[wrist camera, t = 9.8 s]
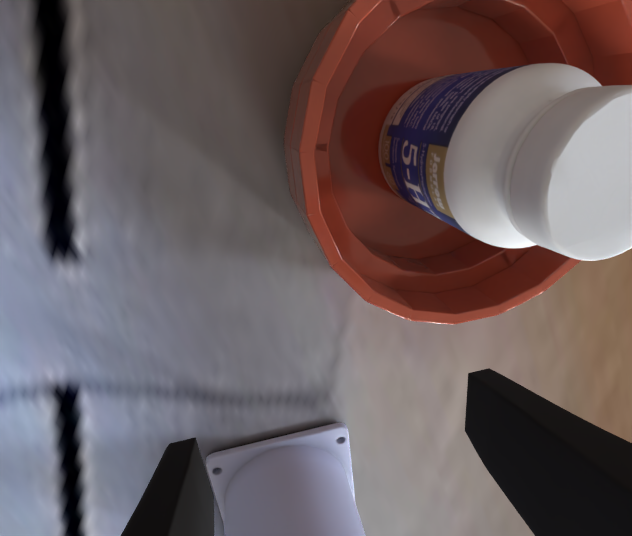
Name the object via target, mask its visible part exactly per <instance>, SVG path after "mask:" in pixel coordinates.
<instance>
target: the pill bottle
mask: <svg viewBox="0 0 632 536" xmlns="http://www.w3.org/2000/svg"><path fill="white" fill-rule="evenodd" d="M378 153H379V163H380V167H381V170H382V173H383V175H384V178H385V180H386V182H387V183H388V185H389V186H390V188H391V189H392V190H393V191H394V192H395V193H396V194H397V195H398V196H399V197H400V198H402V199H403V200H405V201H407V202H409V203H410V204H412V205H414V206H416V207H418V208H420V209H422V210H423V211H425V212H427V213H429V214H431V215H433V216H435V217H437V218H438V219H440V220H442V221H444V222H446V223H448V224H450V225H451V226H453V227H455V228H457V229H459V230H461V231H462V232H464V233H466V234H468V235H470V236H472V237H474V238H476V239H478V240H480V241H482V242H484V243H487V244H490V245H493V246H497V247H503V248H525V247H531V246H534V245H539V246H541V247H544V248H547V249H550V250H552V251H555V252H557V253H560V254H562V255H565V256H568V257H570V258H574V259H578V260H586V261H593V260H596V261H597V260H602V259H607V258H610V257H614V256H616V255H619V254H621V253H623V252H625V251H627V250H629V249H630V248H632V85H612V86H602V85H601V84H600V83H599V82H598V81H597V80H596V79H595V78H594V77H592V76H591V75H590V74H588V73H586V72H585V71H583V70H581V69H579V68H577V67H573V66H570V65H566V64H560V63H540V64H529V65H522V66H514V67H507V68H499V69H491V70H484V71H476V72H469V73H462V74H454V75H447V76H441V77H436V78H432V79H428V80H425V81H423V82H421V83H419V84H417V85H415V86H414V87H412V88H411V89H409V90H408V91H407V92H405V93H404V94H403V95H402V96H401V97H400V98H399V99H398V100H397V101H396V103H395V104H394V105H393V107H392V108H391V110H390V111H389V113H388V115H387V117H386V119H385V121H384V124H383V127H382V130H381V133H380V138H379V147H378Z"/></svg>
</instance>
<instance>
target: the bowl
mask: <svg viewBox="0 0 632 536" xmlns="http://www.w3.org/2000/svg"><path fill="white" fill-rule="evenodd" d="M540 63H560V64H566V65H570V66H573V67H577V68H579V69H581V70H583V71H585V72H586V73H588V74H590V75H591V76H592V77H594V78H595V79H596V80H597V81H598V82H599V83H600V84H601V85H602V86H612V85H632V0H350V2H349V3H348V4H347V5H346V6H345V7H344V8H343V9H342V10H341V11H340V12H339V13H338V14H337V15H336V16H335V17H334V18H333V19H332V20H331V21H330V22H329V23H328V24H327V25H326V26H325V27H324V28H323V29H322V30H321V31H320V33H319V34H318V36H317V38H316V40H315V42H314V44H313V46H312V48H311V50H310V52H309V54H308V56H307V58H306V60H305V62H304V64H303V66H302V68H301V70H300V72H299V74H298V76H297V78H296V80H295V82H294V84H293V87H292V92H291V98H290V104H289V110H288V116H287V122H286V128H285V134H284V140H283V141H284V143H283V144H284V152H285V159H286V167H287V174H288V182H289V189H290V193H291V196H292V198H293V200H294V202H295V204H296V207H297V209H298V211H299V213H300V215H301V217H302V219H303V221H304V223H305V225H306V227H307V229H308V231H309V234H310V235H311V237H312V238H313V240H314V241H315V243H316V244H317V246H318V248H319V249H320V251H321V252H322V254H323V255H324V257H325V259H326V260H327V262H328V263H329V265H330V266H331V268H332V269H333V270H334V271H335V272H336V273H337V274H338V275H339V276H340V277H341V278H343V279H344V280H345V281H346V282H347V283H348V284H349V285H350V286H351V287H352V288H353V289H354V290H355V291H356V292H357V293H358V294H359V295H360V296H361V297H362V298H363V299H364V300H365V301H367V302H368V303H370V304H373V305H375V306H377V307H379V308H382V309H384V310H386V311H388V312H390V313H393V314H395V315H397V316H399V317H402V318H404V319H406V320H409V321H419V322H430V323H442V324H458V323H463V322H468V321H472V320H477V319H482V318H486V317H491V316H496V315H499V314H502V313H504V312H506V311H508V310H510V309H512V308H514V307H516V306H518V305H520V304H522V303H523V302H525V301H527V300H529V299H531V298H533V297H535V296H537V295H539V294H541V293H543V292H544V291H546V290H547V289H548V288H549V287H550V286H552V285H553V284H554V283H555V282H556V281H557V280H559V279H560V278H561V277H562V276H563V275H565V274H566V273H567V272H568V271H569V270H570V269H572V268H573V267H574V266H575V265H576V264H578V263H579V262H580V261H581V260H578V259H574V258H570V257H568V256H565V255H562V254H560V253H557V252H555V251H552V250H550V249H547V248H544V247H541V246H539V245H534V246H531V247H525V248H503V247H497V246H493V245H490V244H487V243H484V242H482V241H480V240H478V239H476V238H474V237H472V236H470V235H468V234H466V233H464V232H462V231H461V230H459V229H457V228H455V227H453V226H451V225H450V224H448V223H446V222H444V221H442V220H440V219H438V218H437V217H435V216H433V215H431V214H429V213H427V212H425V211H423V210H422V209H420V208H418V207H416V206H414V205H412V204H410V203H409V202H407V201H405V200H403V199H402V198H400V197H399V196H398V195H397V194H396V193H395V192H394V191H393V190H392V189H391V188H390V186H389V185H388V183H387V182H386V180H385V178H384V175H383V173H382V170H381V167H380V163H379V153H378V147H379V138H380V133H381V130H382V127H383V124H384V121H385V119H386V117H387V115H388V113H389V111H390V110H391V108H392V107H393V105H394V104H395V103H396V101H397V100H398V99H399V98H400V97H401V96H402V95H403V94H404V93H405V92H407V91H408V90H409V89H411V88H412V87H414V86H415V85H417V84H419V83H421V82H423V81H425V80H428V79H432V78H436V77H441V76H447V75H454V74H462V73H469V72H476V71H484V70H491V69H499V68H507V67H514V66H522V65H529V64H540Z"/></svg>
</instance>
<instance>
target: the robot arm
mask: <svg viewBox="0 0 632 536" xmlns="http://www.w3.org/2000/svg"><path fill="white" fill-rule="evenodd" d="M465 431H466V433H467V435H468V437H469V439H470V441H471V442H472V444H473V446H474V448H475V450H476V452H477V453H478V455H479V457H480V458H481V460H482V462H483V464H484V465H485V467H486V468H487V470H488V471H489V473H490V474H491V475H492V477H493V478H494V480H495V481H496V482H497V484H498V485H499V487H500V488H501V489H502V491H503V492H504V494H505V495H506V496H507V498H508V499H509V500H510V502H511V503H512V505H513V506H514V507H515V509H516V510H517V511H518V513H519V514H520V516H521V517H522V518H523V520H524V521H525V522H526V524H527V525H528V526H529V528H530V529H531V531H532V532H533V533H534V535H535V536H632V443H630V442H628V441H626V440H624V439H622V438H620V437H618V436H616V435H613V434H611V433H609V432H607V431H605V430H603V429H601V428H599V427H597V426H595V425H593V424H591V423H589V422H587V421H585V420H583V419H582V418H580V417H578V416H576V415H574V414H572V413H570V412H568V411H566V410H565V409H563V408H561V407H559V406H557V405H555V404H553V403H552V402H550V401H548V400H546V399H544V398H543V397H541V396H539V395H537V394H535V393H533V392H532V391H530V390H528V389H526V388H524V387H523V386H521V385H519V384H517V383H515V382H514V381H512V380H510V379H508V378H506V377H505V376H503V375H501V374H499V373H497V372H495V371H493V370H491V369H485V370H481V371H476V372H472V373H468V389H467V405H466V421H465ZM339 437H341V438H339ZM206 468H207V472H208V475H209V478H210V481H211V484H212V488H213V491H214V494H215V497H216V501H217V504H218V507H219V510H220V514H221V517H222V520H223V523H224V527H225V536H366V535H365V532H364V529H363V526H362V523H361V519H360V516H359V513H358V510H357V507H356V504H355V494H354V484H353V474H352V464H351V454H350V444H349V433H348V429H347V426H346V425H345V424H344V423H341V422H340V423H334V424H330V425H326V426H322V427H318V428H314V429H310V430H306V431H301V432H297V433H293V434H289V435H285V436H281V437H277V438H273V439H268V440H264V441H260V442H256V443H252V444H248V445H244V446H240V447H235V448H231V449H227V450H223V451H219V452H215V453H212V454H210V455H209V456H207V458H206ZM215 468H218V469H215ZM121 536H214V496H213V492H212V489H211V486H210V482H209V479H208V476H207V473H206V470H205V466H204V463H203V460H202V457H201V453H200V450H199V447H198V444H197V441H196V438H191V439H187V440H183V441H179V442H174V443H170V444H169V445H168V447H167V448H166V450H165V452H164V454H163V456H162V458H161V460H160V462H159V464H158V466H157V468H156V470H155V472H154V474H153V476H152V478H151V480H150V482H149V484H148V486H147V488H146V490H145V492H144V494H143V496H142V498H141V500H140V502H139V503H138V505H137V507H136V509H135V511H134V513H133V514H132V516H131V518H130V520H129V522H128V523H127V525H126V527H125V529H124V531H123V533H122V534H121Z"/></svg>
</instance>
